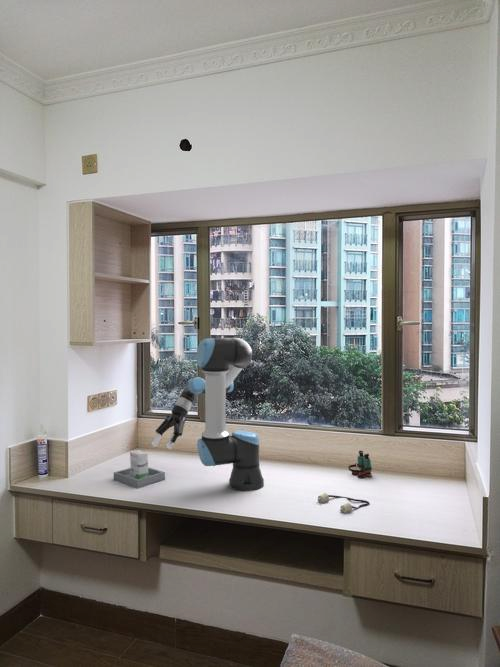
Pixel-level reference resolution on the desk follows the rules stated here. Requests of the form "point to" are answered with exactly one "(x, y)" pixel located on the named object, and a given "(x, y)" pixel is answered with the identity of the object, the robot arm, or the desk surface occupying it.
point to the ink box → (139, 464)
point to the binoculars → (362, 466)
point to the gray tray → (126, 478)
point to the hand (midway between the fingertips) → (160, 447)
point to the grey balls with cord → (345, 507)
